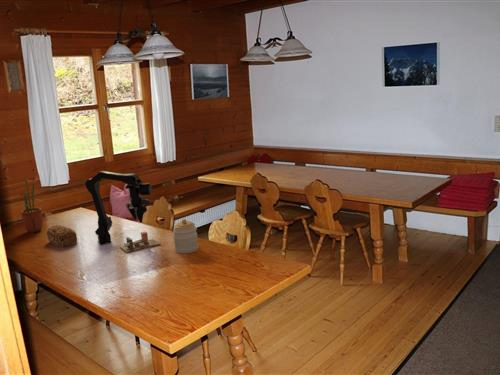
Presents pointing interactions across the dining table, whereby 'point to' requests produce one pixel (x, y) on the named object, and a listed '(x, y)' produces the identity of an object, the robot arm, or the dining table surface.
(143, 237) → the bolt
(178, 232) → the jar
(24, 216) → the potted plant
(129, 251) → the latch board
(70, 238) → the bread
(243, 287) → the dining table surface
